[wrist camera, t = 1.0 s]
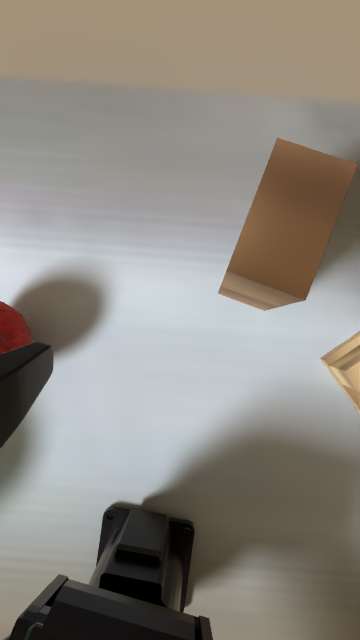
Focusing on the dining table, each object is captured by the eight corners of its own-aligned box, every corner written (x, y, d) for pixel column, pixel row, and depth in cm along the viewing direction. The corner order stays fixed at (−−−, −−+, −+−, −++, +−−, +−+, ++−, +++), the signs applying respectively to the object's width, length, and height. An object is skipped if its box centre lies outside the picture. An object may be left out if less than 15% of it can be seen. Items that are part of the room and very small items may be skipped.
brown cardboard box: (264, 310, 24) (305, 299, 14) (217, 293, 24) (226, 270, 14) (294, 231, 24) (358, 164, 14) (247, 214, 24) (277, 137, 14)
